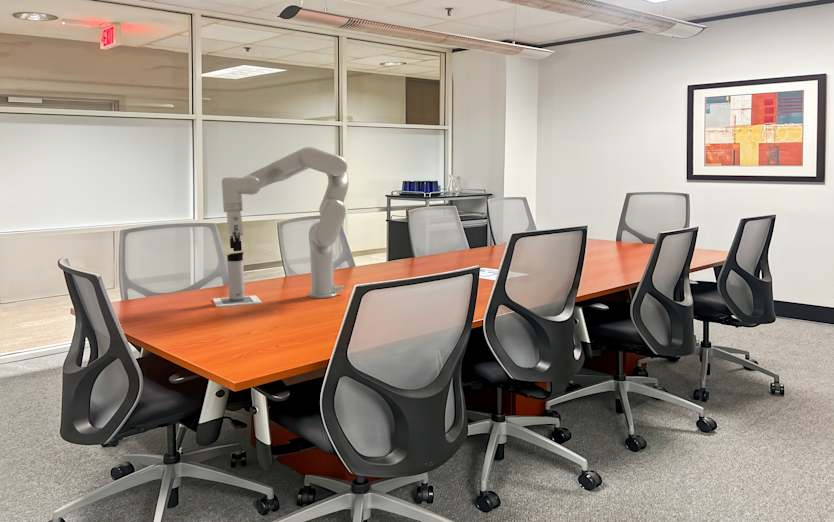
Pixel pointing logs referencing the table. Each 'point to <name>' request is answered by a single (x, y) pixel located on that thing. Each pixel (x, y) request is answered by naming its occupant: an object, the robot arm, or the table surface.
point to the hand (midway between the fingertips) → (236, 249)
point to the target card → (248, 301)
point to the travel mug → (236, 277)
